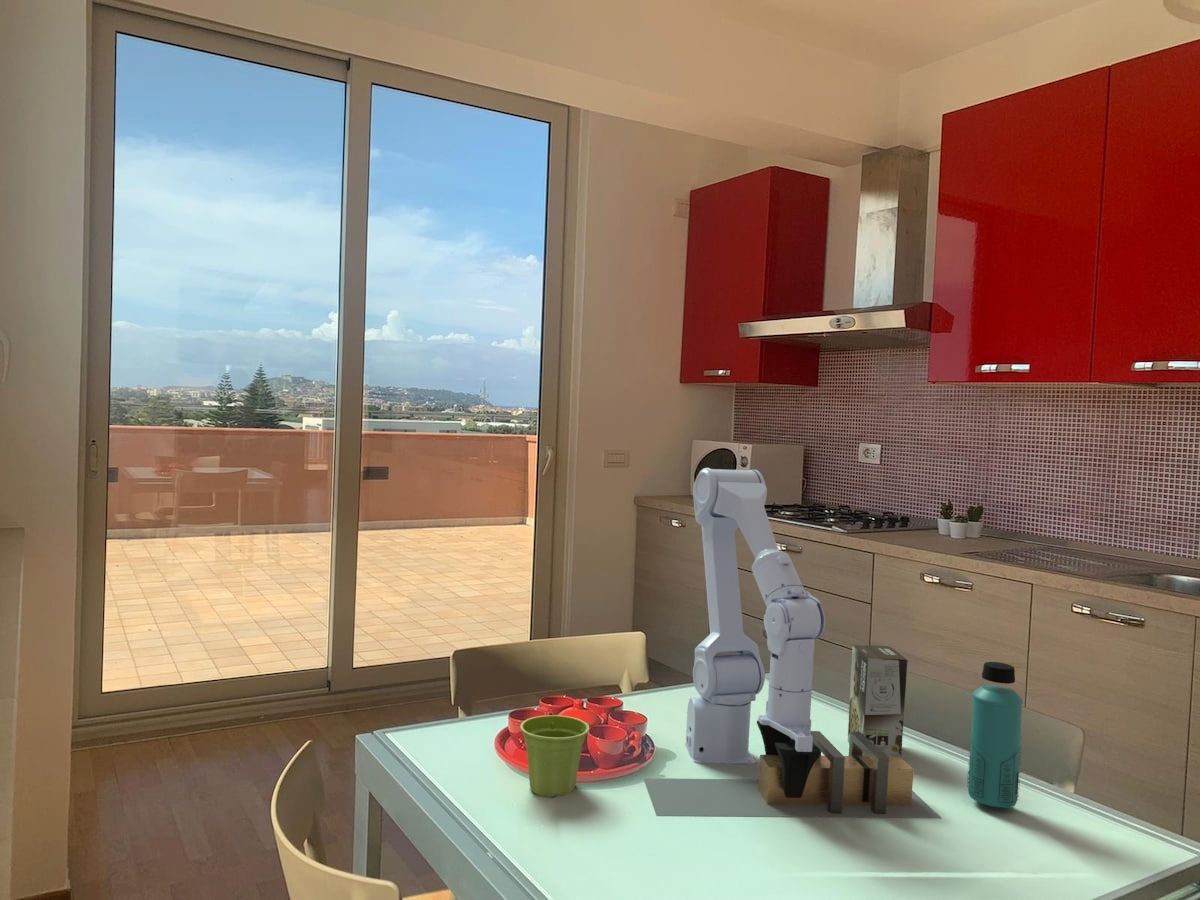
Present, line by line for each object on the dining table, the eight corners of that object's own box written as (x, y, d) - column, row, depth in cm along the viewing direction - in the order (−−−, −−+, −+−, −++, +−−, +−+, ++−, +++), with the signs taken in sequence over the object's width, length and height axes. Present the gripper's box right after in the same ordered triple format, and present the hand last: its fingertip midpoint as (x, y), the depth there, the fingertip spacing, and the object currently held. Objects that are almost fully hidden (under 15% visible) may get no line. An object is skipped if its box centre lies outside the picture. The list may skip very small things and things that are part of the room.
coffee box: (902, 763, 138) (909, 659, 137) (861, 761, 138) (867, 657, 137) (885, 742, 147) (891, 645, 146) (845, 740, 147) (851, 643, 146)
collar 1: (830, 813, 117) (833, 757, 117) (806, 783, 127) (809, 730, 127) (841, 813, 117) (844, 757, 117) (816, 783, 127) (819, 731, 127)
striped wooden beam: (767, 804, 119) (769, 766, 119) (757, 790, 123) (759, 754, 123) (911, 805, 121) (913, 768, 121) (897, 791, 125) (899, 756, 125)
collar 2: (874, 814, 117) (878, 757, 117) (846, 783, 127) (850, 731, 127) (885, 814, 118) (889, 757, 117) (857, 783, 127) (860, 731, 127)
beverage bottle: (1023, 822, 118) (1032, 672, 118) (970, 815, 120) (979, 667, 119) (1010, 802, 125) (1019, 660, 124) (960, 796, 126) (969, 655, 125)
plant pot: (503, 792, 119) (506, 728, 119) (540, 770, 128) (543, 710, 127) (564, 809, 115) (567, 743, 115) (598, 785, 123) (601, 723, 123)
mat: (656, 818, 114) (656, 815, 114) (643, 780, 126) (643, 778, 126) (941, 821, 117) (942, 818, 117) (902, 784, 129) (902, 781, 129)
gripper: (747, 670, 128) (742, 763, 128) (777, 702, 113) (770, 807, 114) (795, 671, 128) (790, 764, 129) (830, 703, 114) (824, 808, 114)
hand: (784, 784), depth 121 cm, fingers open, 7 cm apart
